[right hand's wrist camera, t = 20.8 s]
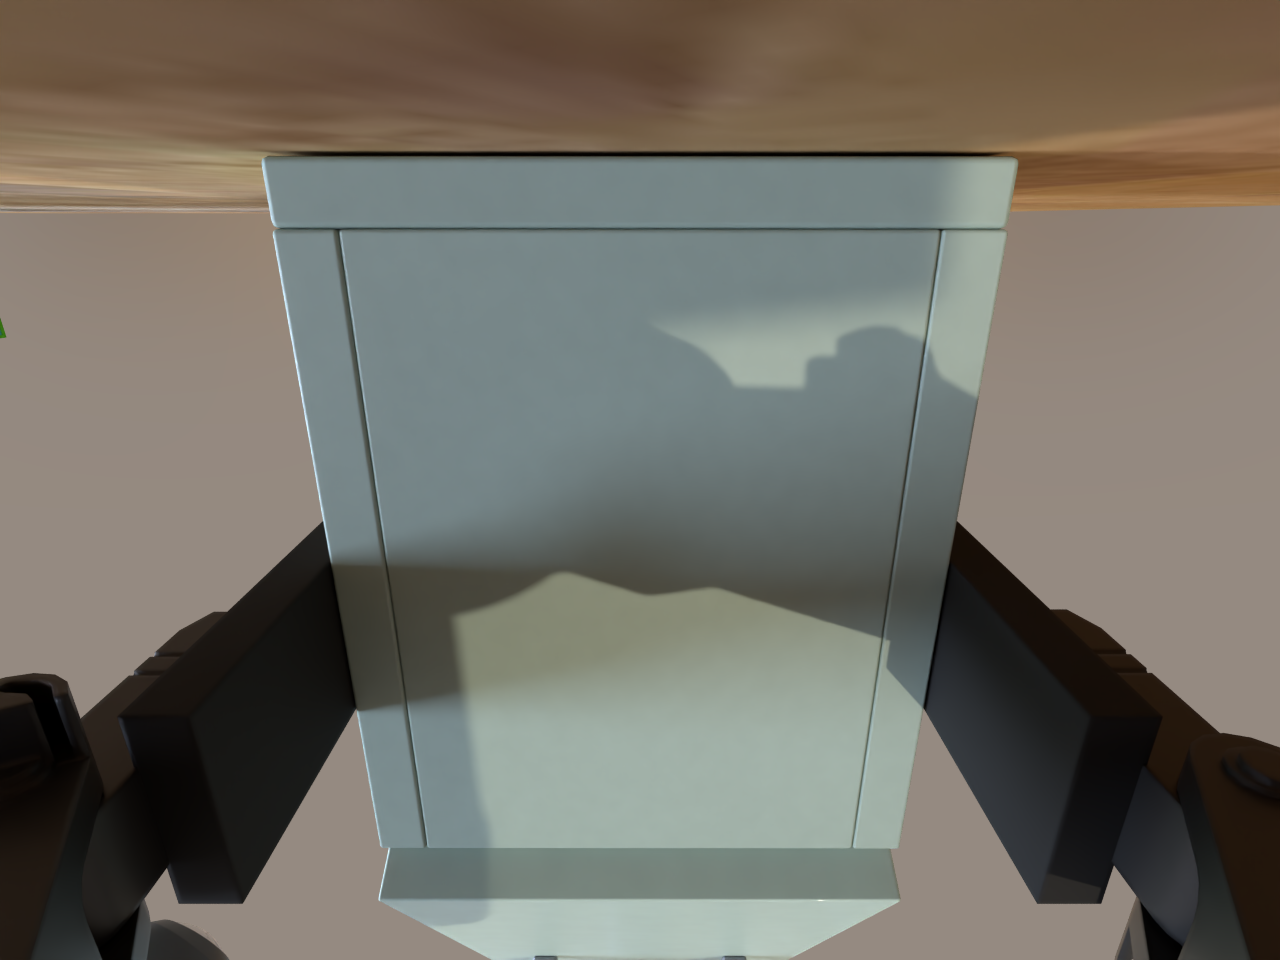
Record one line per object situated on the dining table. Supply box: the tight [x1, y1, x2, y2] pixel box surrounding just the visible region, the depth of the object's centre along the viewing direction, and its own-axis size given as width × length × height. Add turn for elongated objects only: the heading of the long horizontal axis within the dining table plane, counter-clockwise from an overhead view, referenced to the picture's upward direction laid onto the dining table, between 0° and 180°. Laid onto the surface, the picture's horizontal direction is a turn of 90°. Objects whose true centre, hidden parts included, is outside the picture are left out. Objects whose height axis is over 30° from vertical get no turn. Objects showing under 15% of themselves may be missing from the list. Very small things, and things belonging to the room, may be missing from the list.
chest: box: [262, 156, 1018, 849], centre depth 17 cm, size 13×9×11 cm
